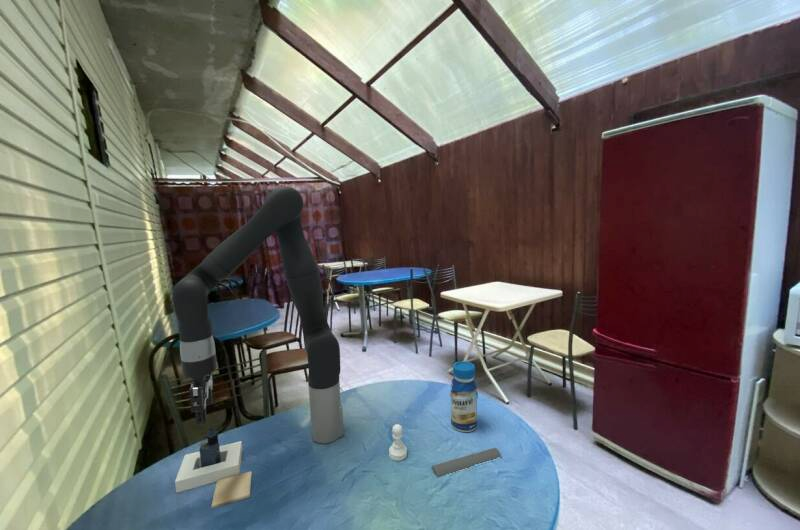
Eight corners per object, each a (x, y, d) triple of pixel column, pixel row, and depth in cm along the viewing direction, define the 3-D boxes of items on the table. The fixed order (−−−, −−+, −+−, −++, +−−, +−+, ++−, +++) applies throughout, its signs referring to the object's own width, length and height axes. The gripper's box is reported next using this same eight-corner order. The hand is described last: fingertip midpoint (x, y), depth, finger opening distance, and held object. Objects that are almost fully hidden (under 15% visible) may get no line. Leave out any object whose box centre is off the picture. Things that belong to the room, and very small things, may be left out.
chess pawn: (405, 462, 87) (404, 432, 86) (387, 460, 88) (386, 430, 87) (408, 449, 92) (407, 420, 91) (391, 447, 93) (390, 418, 92)
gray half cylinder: (502, 460, 88) (502, 454, 88) (437, 480, 82) (437, 474, 82) (493, 450, 92) (493, 444, 92) (430, 468, 86) (430, 462, 86)
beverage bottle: (481, 421, 104) (481, 363, 101) (472, 436, 97) (472, 374, 94) (456, 413, 108) (456, 357, 106) (446, 427, 101) (445, 367, 98)
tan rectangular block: (251, 473, 85) (251, 471, 85) (249, 497, 78) (249, 494, 78) (217, 482, 82) (217, 480, 82) (211, 508, 75) (211, 506, 75)
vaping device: (217, 474, 85) (212, 433, 83) (200, 472, 86) (194, 431, 84) (224, 467, 87) (219, 426, 86) (207, 465, 88) (202, 424, 87)
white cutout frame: (242, 450, 94) (241, 440, 93) (239, 475, 84) (238, 464, 84) (186, 464, 89) (185, 454, 88) (176, 492, 80) (174, 482, 79)
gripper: (210, 363, 77) (216, 425, 79) (219, 342, 90) (224, 396, 92) (173, 368, 74) (181, 433, 76) (188, 346, 87) (194, 402, 89)
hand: (205, 413), depth 84 cm, fingers open, 8 cm apart
